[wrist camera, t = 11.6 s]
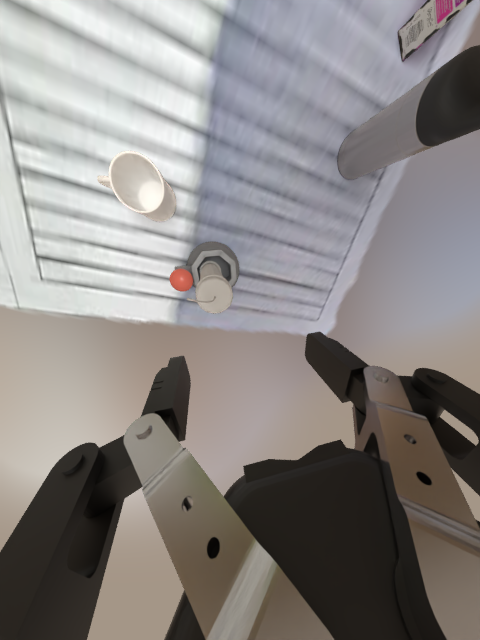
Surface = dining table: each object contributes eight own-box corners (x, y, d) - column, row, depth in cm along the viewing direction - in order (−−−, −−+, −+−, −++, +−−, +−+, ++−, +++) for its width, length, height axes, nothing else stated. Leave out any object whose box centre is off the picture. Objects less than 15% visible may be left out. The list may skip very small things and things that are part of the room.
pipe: (215, 284, 47) (227, 340, 20) (193, 273, 45) (176, 321, 18) (224, 266, 46) (250, 301, 19) (202, 254, 43) (198, 274, 17)
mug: (117, 210, 37) (83, 198, 27) (117, 162, 34) (78, 127, 24) (174, 226, 41) (163, 221, 30) (178, 184, 38) (168, 161, 27)
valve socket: (236, 239, 44) (244, 239, 36) (240, 291, 51) (248, 301, 42) (169, 245, 42) (160, 246, 34) (182, 298, 48) (177, 311, 40)
